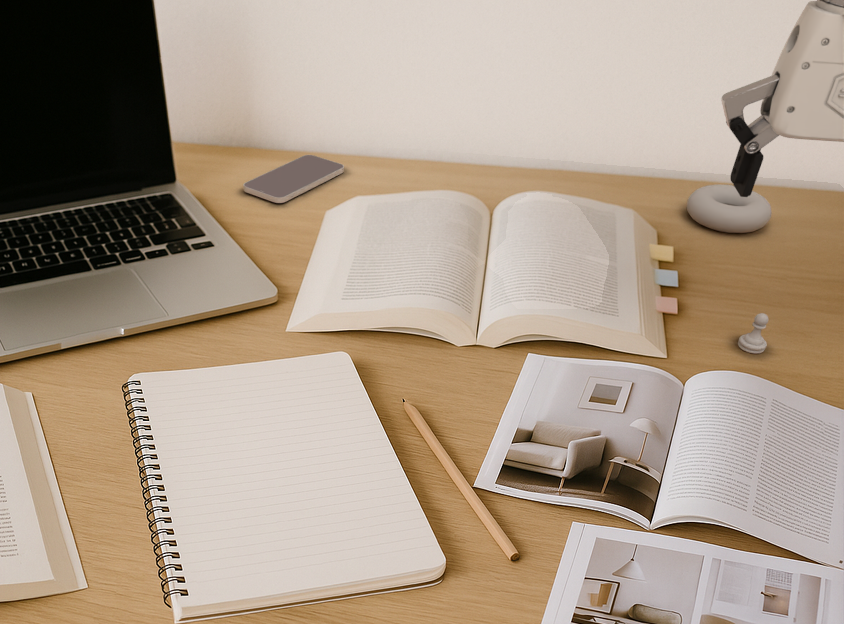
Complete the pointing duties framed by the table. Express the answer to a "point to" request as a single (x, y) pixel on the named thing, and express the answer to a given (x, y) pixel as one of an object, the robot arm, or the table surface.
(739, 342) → the pawn
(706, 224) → the donut
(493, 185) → the table surface
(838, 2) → the robot arm
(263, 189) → the smartphone
